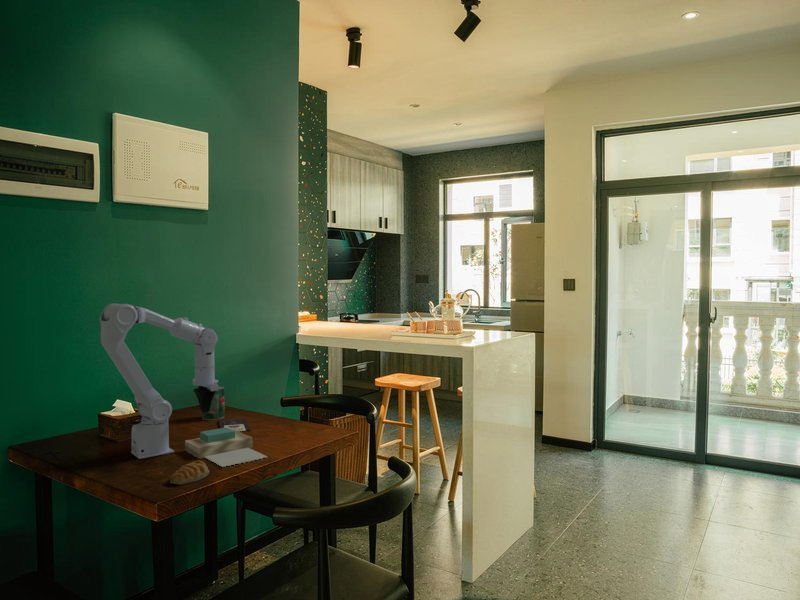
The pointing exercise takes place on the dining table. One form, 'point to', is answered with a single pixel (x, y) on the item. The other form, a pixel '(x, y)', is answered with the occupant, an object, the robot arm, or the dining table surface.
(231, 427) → the chocolate bar
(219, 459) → the mat
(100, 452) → the dining table surface
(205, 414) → the canned tomato
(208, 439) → the tile
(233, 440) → the beige flat block
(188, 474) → the pastry
